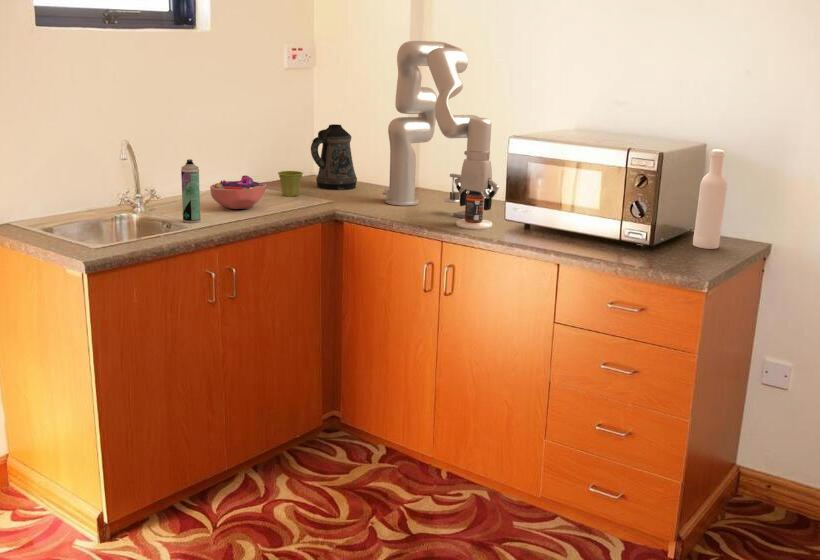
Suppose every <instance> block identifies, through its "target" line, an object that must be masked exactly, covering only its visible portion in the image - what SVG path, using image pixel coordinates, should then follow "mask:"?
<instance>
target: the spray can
mask: <svg viewBox="0 0 820 560" xmlns="http://www.w3.org/2000/svg"><path fill="white" fill-rule="evenodd" d="M193 161H194V160H193V159H191V158H190V159H186V163H185V165H183V166H181V168H180V169H181V170H180V172H181V174H180V176H181V178H180V179H181V197H182V198H181V201H182V204H181V205H182V222H183V223H185V224H195V223H200V222H201V193H200V192H201V191H200V170H199V166H197V165H196V164H195V163H194V162H193Z"/></svg>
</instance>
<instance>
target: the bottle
mask: <svg viewBox="0 0 820 560" xmlns="http://www.w3.org/2000/svg"><path fill="white" fill-rule="evenodd" d="M724 158H725V151H724V150H722V149H712V150H711V152H710V162H709V163H710V164H709V169H708V173H707V174H705V175H704V176H703V177H702V179H701V181H700V185H699V194H698V200H697V202H698V203H697V209H696V216H695V224H694V232H693V233H694V234H693V235H692V236H693V237H692V245H693V247H695V248H700V249H707V250H716V249H718V248H719V247H720V243H721V232H722V226H723V225H722V224H723V219H724V218H723V217H724V212H725V211H724V210H725V202H726V195H727V189H728V188H727V187H728V183H727V179H726V177H725V176H724V175H723V174H722V171H723V164H724Z"/></svg>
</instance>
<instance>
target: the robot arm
mask: <svg viewBox="0 0 820 560" xmlns="http://www.w3.org/2000/svg"><path fill="white" fill-rule="evenodd" d="M468 61H469V59H468V56H467V54H466V52H465V50H463V49H462V48H460V47H457V46H455V45H452V44H450V43H447V42H443V41H435V40H433V41H431V40H430V41H427V40H409V41H406V42H403V43H402V44H401V45H400V46H399V48H398V51H397V54H396V65H397V80H396V81H397V82H396V83H397V84H396V90H395V104H394V105H395V109H396V111H397V112H398V113H399V114H404V115H405V114H406V115H415V114H417V116H402V117H400V116H399V117H396V118H394V119H392V120H391V121H390V122H389V124H388V127H387V130H388V131H387V135H388V139H389V150H390V151H389V158H390V159H389V189H388V188H385V189H384V190H382V193H381V194H382V195H384V196H385V195H386V198H385V199H384V203H385V204H388V205H391V206H399V207H400V206H409V207H410V206H414V205H418V204H419V202H420V201H419V199H417V198H416V197H415V195H416V171H417V170H416V168H417V167H416V165H417V157H416V155H417V154H416V151H415V149H414V148H413V146H412V144H420V143H422V144H423V143H429V142H430V141H431V140H432V139H433V137H434V134H435V130H436V129H435V128H436V127H435V126H436V122H437V126H438V127H439V130H440V132H441V133H442V135H443V136H444V137H445V138H447V139H467V140H466V141H467V142H466V150H465V151H464V153H463V155H464V156H466V157H465V159H464V160H463V162H462V166H461V172H460V175H461V177H459V178H454V185H455V188H456V190H457V192H459V199H460V202H459V206H460V207H465V206H466V195H467V191H468V190H469V191H475V192H483V193H484V195H485V197H484V203H483V211H490V210H491V209H492V201H493V198H494V197H495V195H497V193H498V191H499V189H500V185H498V184H497V183H496V182H495V181H494V180H493V169H492V168H493V167H492V162H491V161H490V158H491V157H490V154H491V141H492V140H491V139H492V137H491V135H492V121H491V119H490V118H487V117H479V116H478V115H474V114H453V113H452V112H451V109H450V107H449V100H450V99H452V98H454V97H456V96H457V95H458V94H459V93H461V92H462V90H463V87H464V85H463V82H462V79H461V76H460V74H461V73H464V72H465V71H466V70H467V68H468V63H469V62H468ZM419 67H428V70H429V71H430V74H431V77H432V79H433V81H434V84H435V87H436V90H437V92H438V96H437V94H436V91H435V90H434V89H433V88H431V87H429V86H422V73H421V70H420V68H419Z"/></svg>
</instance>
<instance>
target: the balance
mask: <svg viewBox="0 0 820 560" xmlns="http://www.w3.org/2000/svg"><path fill="white" fill-rule="evenodd" d="M459 177H461V174H458V173H450V174H449V178H452V179H451V180H452V181H451V183H452V185H451V186H452V187H451V191H450V192H449V197H445V198H443V202H446V203H453V204H454V203H456V204H457V203H460V194H459V191H454V190H455V189H454V188H455V181H454V180H455V179H457V178H459ZM466 193H467V194H469V193H470V192H469V190H468V191H467V192H466ZM481 194H482V195H483V196H484V198H486V197H485V195H484V193H483V192H481ZM452 217H455V218H460V219H465V210H461V211H456V212H453V216H452Z"/></svg>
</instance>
